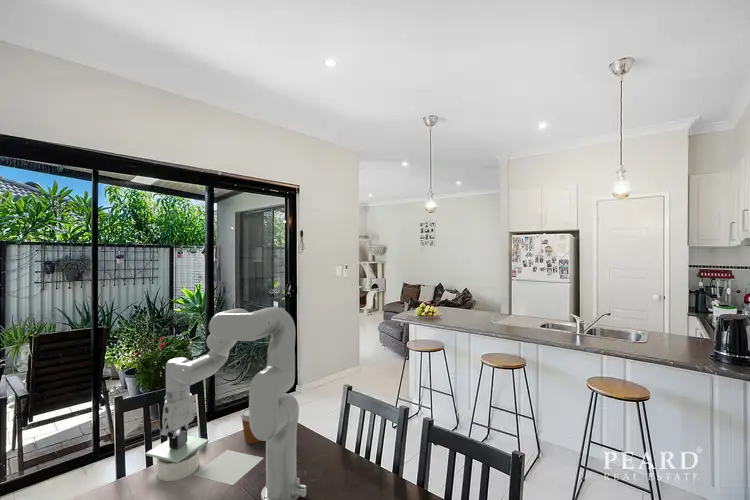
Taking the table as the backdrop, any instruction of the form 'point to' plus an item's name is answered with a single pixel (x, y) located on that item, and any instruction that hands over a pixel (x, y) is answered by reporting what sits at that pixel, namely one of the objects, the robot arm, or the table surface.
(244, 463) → the mat
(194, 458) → the bowl
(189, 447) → the lid
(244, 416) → the disposable coffee cup
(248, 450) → the table surface
